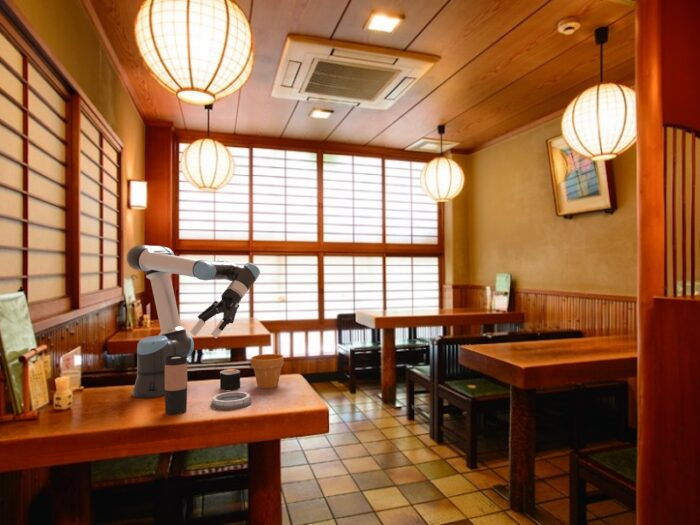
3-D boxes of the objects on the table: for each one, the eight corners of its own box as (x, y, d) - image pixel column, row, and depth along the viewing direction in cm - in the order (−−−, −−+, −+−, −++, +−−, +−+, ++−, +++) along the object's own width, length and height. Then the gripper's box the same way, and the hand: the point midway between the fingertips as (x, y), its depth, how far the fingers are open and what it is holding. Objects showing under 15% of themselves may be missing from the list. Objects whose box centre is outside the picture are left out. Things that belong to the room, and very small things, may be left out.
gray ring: (202, 407, 161) (202, 399, 161) (227, 396, 175) (227, 389, 175) (235, 411, 155) (235, 403, 156) (259, 400, 169) (259, 393, 170)
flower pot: (246, 385, 192) (245, 356, 192) (274, 380, 201) (274, 352, 201) (259, 392, 181) (259, 361, 181) (289, 386, 189) (289, 357, 190)
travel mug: (165, 416, 151) (165, 359, 151) (163, 410, 158) (163, 355, 158) (188, 413, 154) (188, 357, 155) (185, 407, 161) (185, 353, 162)
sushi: (231, 384, 194) (231, 366, 194) (243, 387, 189) (243, 369, 189) (216, 388, 188) (216, 370, 188) (228, 391, 183) (228, 372, 183)
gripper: (259, 300, 172) (229, 343, 160) (220, 299, 187) (190, 338, 175) (248, 287, 168) (217, 330, 156) (210, 287, 183) (178, 327, 171)
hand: (202, 335), depth 165 cm, fingers open, 13 cm apart
